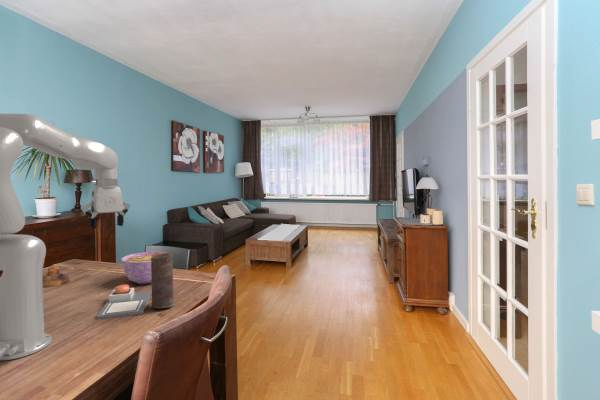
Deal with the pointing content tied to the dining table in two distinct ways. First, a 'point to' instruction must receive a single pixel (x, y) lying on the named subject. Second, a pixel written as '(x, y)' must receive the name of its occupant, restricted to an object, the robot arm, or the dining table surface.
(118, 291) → the button
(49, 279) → the orange purple rounded piece
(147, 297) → the grey piece
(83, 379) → the dining table surface
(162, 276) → the brown cylinder
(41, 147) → the robot arm
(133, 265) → the bowl of food
